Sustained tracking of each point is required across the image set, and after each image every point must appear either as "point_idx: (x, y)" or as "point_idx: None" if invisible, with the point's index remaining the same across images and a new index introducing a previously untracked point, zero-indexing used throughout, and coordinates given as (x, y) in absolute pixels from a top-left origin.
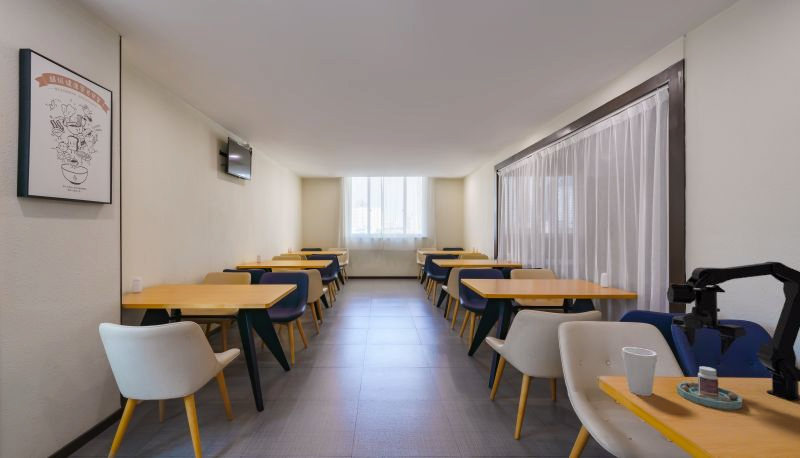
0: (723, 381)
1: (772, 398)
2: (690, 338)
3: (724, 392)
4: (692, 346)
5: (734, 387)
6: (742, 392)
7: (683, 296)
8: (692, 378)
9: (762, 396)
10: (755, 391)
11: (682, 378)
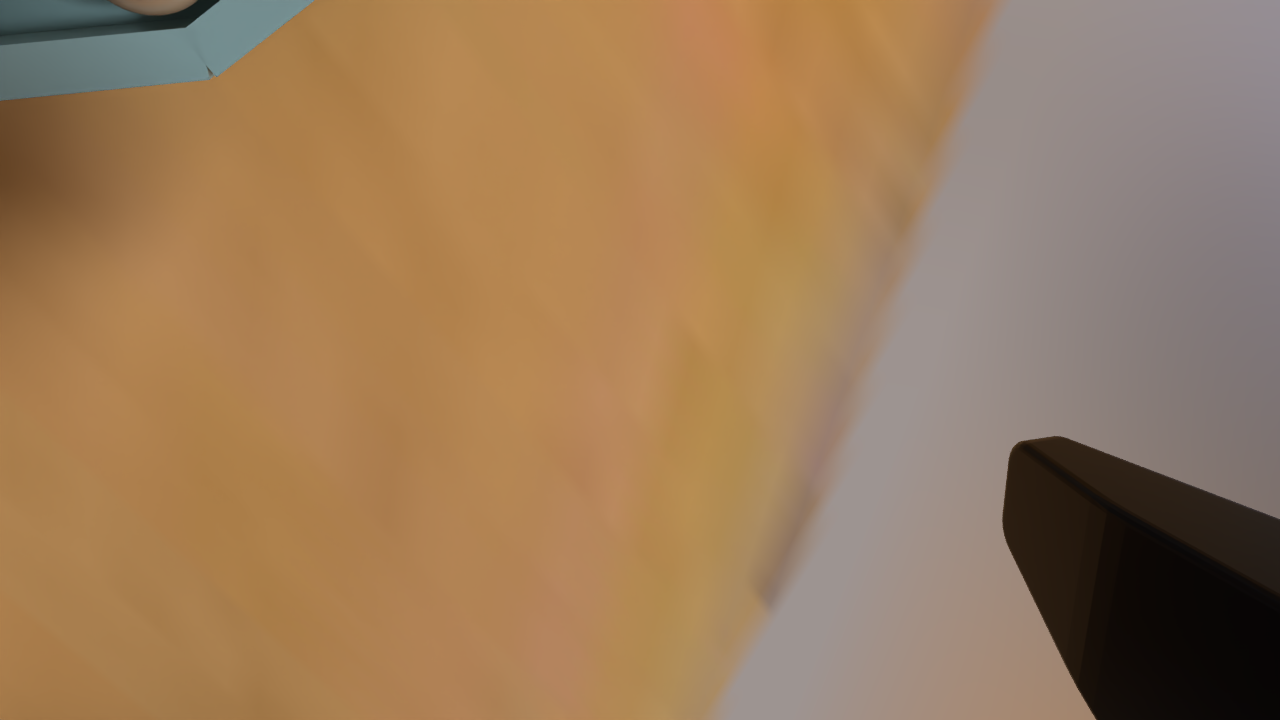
0: (616, 594)
1: (6, 650)
2: (1275, 659)
3: (49, 34)
4: (1019, 492)
5: (407, 538)
6: (226, 474)
7: None
8: (826, 273)
9: (75, 595)
10: (249, 663)
11: (880, 100)
